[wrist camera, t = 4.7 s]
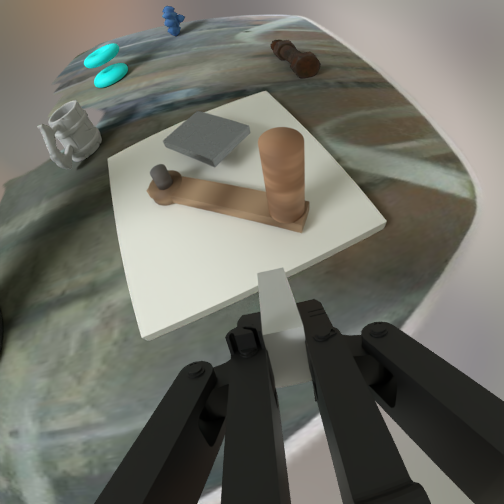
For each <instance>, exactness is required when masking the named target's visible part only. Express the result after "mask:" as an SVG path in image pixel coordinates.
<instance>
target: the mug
mask: <svg viewBox="0 0 504 504" xmlns="http://www.w3.org/2000/svg"><path fill="white" fill-rule="evenodd" d="M49 125H50V126H51V128H50V127H49V126H47V125H44V124H40V125H39V126H38V128H39V129H40V131H41V133H42V135H43V138H44V141H45V143H46V146H47V149H48V151H49V153H50V158H51V159H52V160H53V161H54V162H56V164H57V165H58V166H59V167H61V168H66V169H67V170H70V169H71V168H72V160H73V161H76V162H77V161H82V160H84V159H86V158H88V157H89V156H90V155H92V154H93V153H94V152H95V151H96V150H97V149H98V147H99V144H100V143H101V140H102V138H101V136H100V131H99V130H98V128H96V127H94V125H93V124H92V123H91V121H90V120H89V118H88V114H87V113H86V111H85V110H83V109H82V108H81V106H80V105H79V103H78V102H77V101H76V100H73V101H71V102H68V103H66V104H65V105H63V106H61V107H60V108H59V109H58V110H56V111H55V112H54V113H53V115H52V116H51V117H50V119H49ZM55 137H56V138H57V139H59V140H60V142H61V143H62V145H63V146H64V148H65V154H62V153H61V152H60V151H59V150H58V149H57V147H56V140H55Z"/></svg>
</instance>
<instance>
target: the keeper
mask: <svg viewBox="0 0 504 504" xmlns="http://www.w3.org/2000/svg"><path fill="white" fill-rule="evenodd" d="M250 133H251V132H250V127H249V125H246V124H242V123H239V122H236V121H233V120H229V119H226V118H222V117H219V116H215V115H212V114H208V113H204V112H200V111H197V112H196V113H195V114H193V115H192V116H191V117H190V118H188V119H187V120H186V121H185V122H184V123H182V124H181V125H180V126H179V127H178V128H177V129H175V130H174V131H173V132H172V133H171V134H170V135H169V136H167V137H166V138H165V139H164V140H163V143H164V145H165V147H166V148H169V149H171V150H174V151H176V152H179V153H181V154H184V155H186V156H189V157H191V158H193V159H196V160H198V161H201V162H203V163H206V164H208V165H210V166H213V167H216V166H217V165H218V164H219V163H220V162H221V161H222V160H223V159H224V158H225V157H226V156H227V155H228V154H229V153H230V152H231V151H232V150H233V149H234V148H235V147H236V146H237V145H238V144H239V143H240V142H241V141H243V140H244V139H245V138H246V137H247V136H248V135H249V134H250Z"/></svg>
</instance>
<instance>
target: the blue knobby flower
mask: <svg viewBox="0 0 504 504" xmlns="http://www.w3.org/2000/svg"><path fill="white" fill-rule="evenodd" d="M163 12H164V14H163V16H162V17H163V18H165V19H166V20H165V26H167V27H169V29H168V32H169V33H170V34H171V35H173V36H177V35H178V34H179V32H180V29H181V27H179V25H180V23H181V22H183V20H184V18H185V17H184V16H183V15H180V14H179V15H177V13H176V12H174V8H173V7H171V6H166V7H164V9H163ZM179 22H180V23H179Z"/></svg>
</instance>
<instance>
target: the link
mask: <svg viewBox="0 0 504 504" xmlns="http://www.w3.org/2000/svg"><path fill="white" fill-rule="evenodd" d="M258 147H259V153H260V159H261V165H262V171H263V177H264V183H265V189H266V192H264V191H259V190H254V189H250V188H245V187H239V186H234V185H229V184H224V183H218V182H213V181H207V180H201V179H196V178H190V177H184V176H181V174H180V173H179V172H177V171H174V170H167V168H166V166H165V165H163V164H158V165H156V166H154V167H153V168H152V169H151V171H150V175H151V177H152V179H153V180H152V181H151V182H150V184H149V187H148V189H147V190H146V191H147V193H148V194H149V196H150V197H151V198H153V200H154V201H155V202H156V203H157V204H158V205H162V206H166V205H171V204H173V203H176V204H181V205H185V206H190V207H194V208H198V209H203V210H207V211H212V212H216V213H220V214H225V215H229V216H233V217H237V218H242V219H246V220H250V221H254V222H258V223H262V224H267V225H271V226H275V227H279V228H283V229H287V230H291V231H295V232H299V233H302V231H303V228H304V225H305V222H306V219H307V216H308V213H309V207H310V202H309V201H305V152H304V137H303V135H302V134H301V133H300V132H298V131H297V130H295V129H292V128H288V127H276V128H272V129H269V130H267V131H265V132H264V133H263V134H262V135H261V136H260V137H259V139H258Z"/></svg>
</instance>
